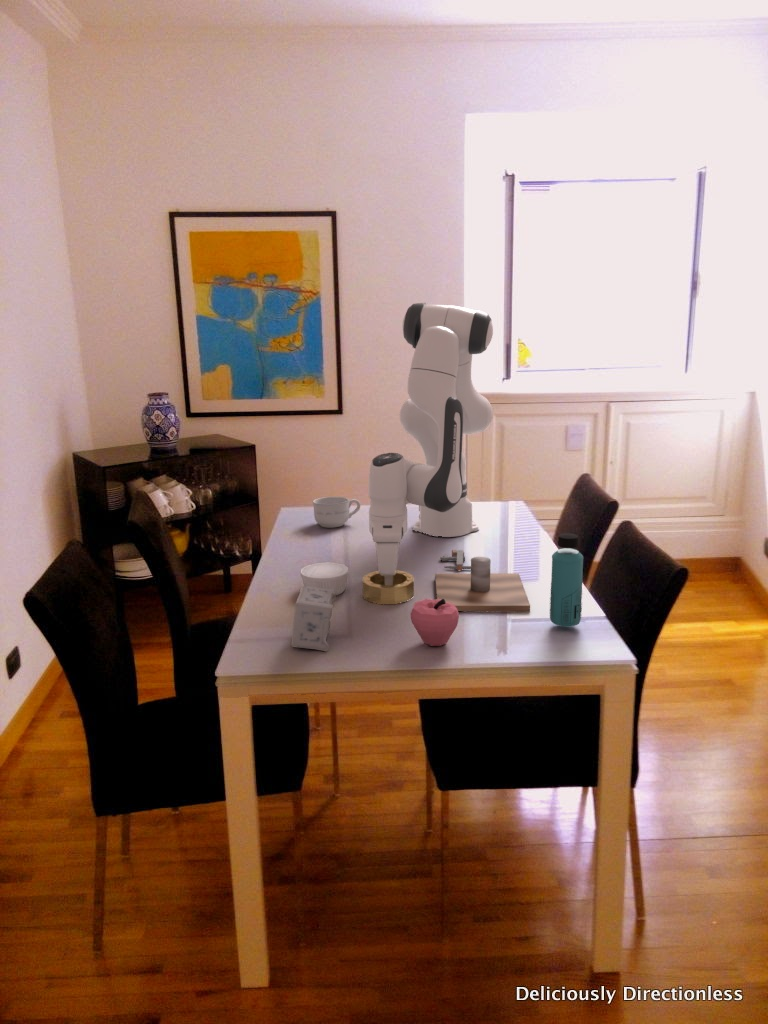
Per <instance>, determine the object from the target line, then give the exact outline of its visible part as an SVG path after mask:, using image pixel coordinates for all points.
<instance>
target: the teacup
mask: <svg viewBox="0 0 768 1024" xmlns="http://www.w3.org/2000/svg"><path fill="white" fill-rule="evenodd" d="M312 503H313V504H312V505H313V515H314V520H315V522H316V523H317V524H319V525H320V526H321V527H322V528H326V529H327V528H338V527H339V528H340V527H342V526H344V525H345V524H346V523H347V522H348V520H349V519H351V518H352V516H354V515H355V514H357V513H358V512H359V511H360V510H361V509H360V508H361V502H360V501H359V500H358V499H356V498H352V499H349V498H348V497H345V496H325V497H319V498H315V499H314V500H312ZM353 503H355V504H356V507H355V509H354V510H352V511H351V512H350V508H351V506H352V504H353Z"/></svg>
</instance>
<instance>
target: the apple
mask: <svg viewBox="0 0 768 1024" xmlns="http://www.w3.org/2000/svg"><path fill="white" fill-rule="evenodd" d="M410 619H411V624H412V625H413V627H414V628H415V631H416V633H417V634H418V635H419V636H420V638H421V640H422V642H423V643H424V644H425V645H428V646H431V647H435V646H437V647H439V646H443V645H446V644H447V643H448V642H449V640H450V638H451V636H452V635H453V634H454V632H455V631H456V629H457V627H458V624H459V619H460V612H458V610H457V608H456V607H455V605H454V604H452V603H448V602H445V600H444V599H442V600H441V599H437V598H436V599H431V598H424V599H421V600H418V601H417V602H415V603H414V604H413V607H412V608H411V611H410Z"/></svg>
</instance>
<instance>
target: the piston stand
mask: <svg viewBox="0 0 768 1024" xmlns="http://www.w3.org/2000/svg"><path fill="white" fill-rule="evenodd" d="M491 561H492V559H491V558H489V557H486V556H474V557H471V559H470V566H471V569H470V573H435V574H434V575H435V577H434V578H435V580H436V581H435V580H434V581H435V595H436V594H437V595H436V599H441V600H442V599H444V600H445V602H448V603H452V604H454V605H455V607H456V608H457V610H458V611H480V612H479V613H482V612H481V611H484V612H483V613H493V612H492V611H495V612H494V613H497V612H496V611H501V612H500V613H530V612H531V603H530V601H529V598H528V596H527V592H526V589H525V587H524V583H523V582H522V579H521V576H520V573H514V572H513V573H510V572H509V573H508V572H507V573H503V572H502V573H491ZM486 611H488V612H486Z"/></svg>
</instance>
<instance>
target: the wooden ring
mask: <svg viewBox="0 0 768 1024" xmlns="http://www.w3.org/2000/svg"><path fill="white" fill-rule="evenodd" d="M414 579H415V577H414V575H413V574H411V573H409V572H407V571H402V570H399V569H398V570H397V569H396V574H395V575H393V585H385V578H384V576H383V575H380V573H379V570H376V571H372V572H371V571H370V572H369V573H367V574H366V575H363V577H362V597H363V599H364V598H365V599H364V600H366V601H367V602H368V601H369V603H371V602H373V603H372V604H376V603H377V604H376V605H381V604H383V605H384V604H396V605H398V604H397V603H400V602H404V601H407V600H409V599H411V598H412V597H413V596H415V585H414V583H415V582H414V581H415V580H414ZM412 599H413V598H412ZM412 599H411V600H412ZM409 601H410V600H409ZM400 604H401V603H400ZM383 605H382V606H383Z"/></svg>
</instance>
